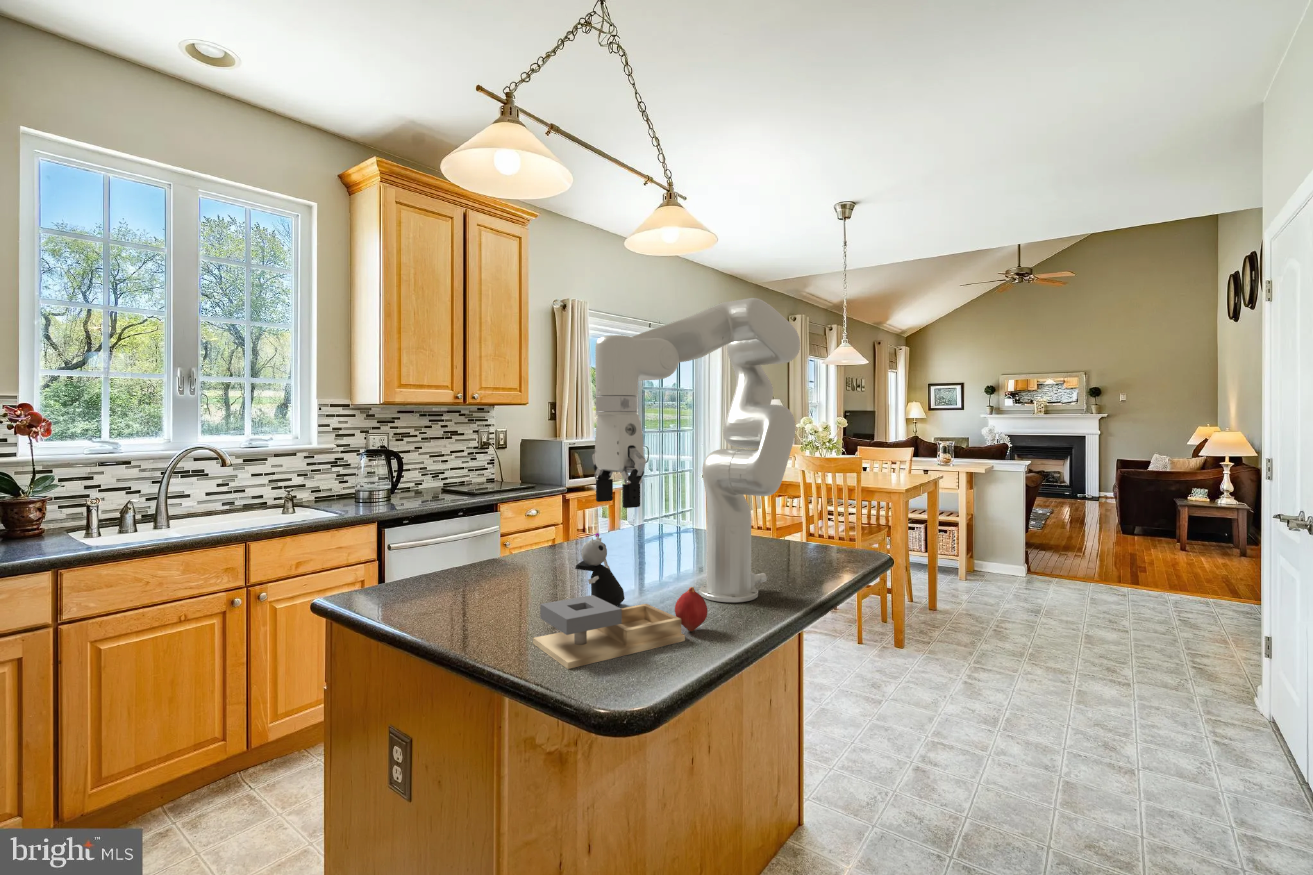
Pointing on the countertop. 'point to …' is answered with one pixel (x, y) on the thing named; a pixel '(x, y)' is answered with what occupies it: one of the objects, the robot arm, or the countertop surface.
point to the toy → (600, 572)
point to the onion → (691, 609)
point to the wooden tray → (614, 637)
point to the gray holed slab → (580, 614)
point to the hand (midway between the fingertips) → (617, 504)
